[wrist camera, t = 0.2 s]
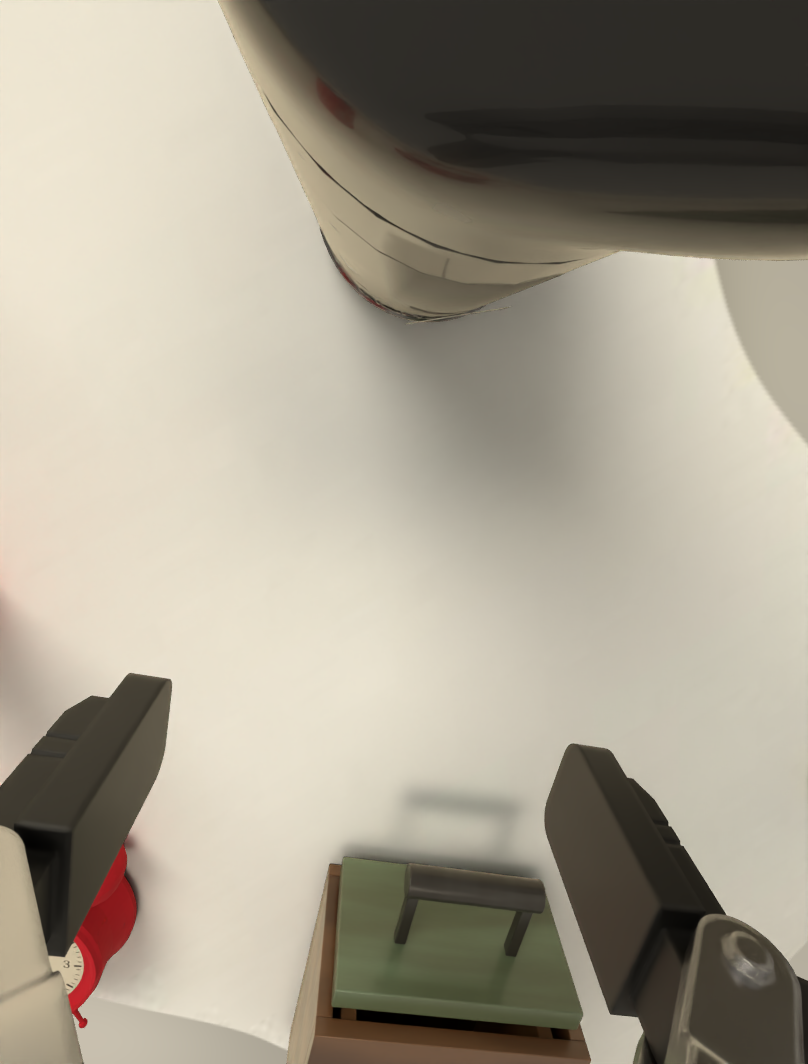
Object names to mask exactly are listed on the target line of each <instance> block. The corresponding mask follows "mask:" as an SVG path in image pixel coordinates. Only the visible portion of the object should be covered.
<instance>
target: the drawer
mask: <svg viewBox="0 0 808 1064" xmlns="http://www.w3.org/2000/svg"><path fill="white" fill-rule="evenodd" d="M331 1005H332V1007H333V1017H332V1018H335V1019H346V1020H357V1021H367V1022H378V1023H389V1024H400V1025H410V1026H421V1027H432V1028H443V1029H453V1030H464V1031H475V1032H486V1033H497V1034H507V1035H518V1036H529V1037H540V1038H550V1039H553V1037H552V1033H551V1029H550V1028H560V1029H570V1030H576V1029H577V1028H578V1026H579V1023H580V1021H581V1019H582V1017H583V1011H582V1008H581V1005H580V1002H579V999H578V995H577V992H576V989H575V986H574V983H573V979H572V976H571V973H570V970H569V967H568V963H567V960H566V957H565V954H564V951H563V947H562V944H561V941H560V938H559V935H558V931H557V928H556V925H555V922H554V919H553V916H552V912H551V909H550V906H549V903H548V900H547V896H546V893H545V888H544V885H543V882H542V881H541V880H539V879H532V878H524V877H516V876H508V875H500V874H493V873H485V872H477V871H469V870H461V869H453V868H445V867H437V866H429V865H421V864H414V863H408V865H406V864H398V863H390V862H382V861H374V860H366V859H358V858H350V857H344V858H343V861H342V865H341V870H340V880H339V895H338V910H337V925H336V940H335V955H334V970H333V985H332V1000H331Z"/></svg>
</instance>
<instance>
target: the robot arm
mask: <svg viewBox="0 0 808 1064" xmlns="http://www.w3.org/2000/svg"><path fill="white" fill-rule="evenodd" d="M218 3H219V5H220V7H221V9H222V11H223V14H224V16H225V18H226V20H227V23H228V25H229V27H230V29H231V31H232V34H233V37H234V39H235V41H236V43H237V46H238V48H239V50H240V52H241V54H242V57H243V59H244V61H245V63H246V65H247V68H248V70H249V72H250V74H251V76H252V79H253V81H254V83H255V85H256V87H257V90H258V92H259V94H260V96H261V98H262V101H263V103H264V105H265V107H266V109H267V112H268V114H269V116H270V118H271V120H272V122H273V124H274V126H275V128H276V130H277V132H278V134H279V137H280V139H281V141H282V143H283V145H284V148H285V150H286V152H287V154H288V157H289V159H290V161H291V163H292V165H293V168H294V170H295V172H296V174H297V177H298V179H299V181H300V183H301V185H302V188H303V190H304V192H305V194H306V197H307V199H308V201H309V203H310V205H311V208H312V210H313V212H314V214H315V217H316V219H317V221H318V223H319V226H320V230H321V234H322V236H323V239H324V242H325V245H326V247H327V249H328V252H329V254H330V256H331V258H332V260H333V262H334V263H335V265H336V267H337V269H338V270H339V272H340V273H341V274H342V276H343V277H344V279H345V280H346V281H347V282H348V283H349V285H350V286H351V287H352V288H353V289H354V290H355V291H356V292H357V293H358V294H359V295H360V296H362V297H363V298H364V299H365V300H366V301H368V302H369V303H371V304H372V305H374V306H375V307H377V308H379V309H380V310H382V311H384V312H386V313H388V314H391V315H393V316H396V317H399V318H403V319H406V320H411V321H418V322H440V321H447V320H452V319H456V318H459V317H462V316H465V315H468V314H474V313H480V312H487V311H493V310H499V309H505V308H508V307H505V308H499V309H492V310H486V311H480V312H474V311H477V310H479V309H481V308H482V307H484V306H486V305H487V304H490V303H492V302H495V301H497V300H500V299H502V298H505V297H507V296H510V295H512V294H515V293H517V292H520V291H522V290H525V289H527V288H530V287H533V286H535V285H538V284H540V283H543V282H545V281H548V280H550V279H553V278H555V277H558V276H560V275H563V274H565V273H567V272H569V271H572V270H574V269H577V268H579V267H582V266H584V265H587V264H589V263H592V262H594V261H597V260H599V259H602V258H604V257H607V256H609V255H612V254H614V253H617V252H619V251H630V252H641V253H651V254H660V255H670V256H683V257H697V258H710V259H729V260H730V259H731V260H768V261H769V260H771V261H784V260H808V0H218ZM511 307H512V306H511ZM472 312H474V313H472ZM418 322H412V323H418ZM412 323H406V324H412ZM406 324H405V325H406ZM171 692H172V682H171V680H170V679H166V678H159V677H153V676H147V675H140V674H134V673H129V674H128V675H127V676H126V677H125V678H124V680H123V681H122V682H121V684H120V685H119V686H118V687H117V689H116V690H115V691H114V693H113V694H112V695H111V697H110V698H104V697H98V696H90V697H88V698H87V699H85V700H83V701H82V702H80V703H78V704H76V705H75V706H73V707H71V708H70V709H68V710H66V711H65V712H64V713H63V714H62V715H61V716H60V717H59V719H58V720H57V721H56V722H55V723H54V724H53V726H52V727H51V728H50V729H49V730H48V731H47V734H46V736H43V737H42V738H41V740H40V741H39V742H38V743H37V744H36V745H35V747H34V748H33V749H32V752H31V754H28V755H27V756H26V757H25V758H24V759H23V761H22V762H21V763H20V764H19V765H18V766H17V768H16V769H15V770H14V771H13V772H12V773H11V775H10V776H9V777H8V778H7V779H6V780H5V781H4V783H3V784H2V785H1V786H0V1064H84V1063H83V1059H82V1054H81V1050H80V1045H79V1041H78V1037H77V1032H76V1028H75V1024H74V1019H73V1015H72V1011H71V1007H70V1002H69V998H68V994H67V990H66V986H65V983H64V980H63V977H62V975H61V973H60V971H59V970H57V971H55V972H53V971H52V968H51V965H50V961H49V957H48V956H56V957H65V956H66V954H67V952H68V951H69V949H70V947H71V945H72V943H73V941H74V939H75V937H76V935H77V933H78V931H79V929H80V927H81V925H82V923H83V921H84V919H85V917H86V915H87V913H88V911H89V909H90V907H91V905H92V903H93V902H94V900H95V898H96V896H97V894H98V892H99V890H100V888H101V886H102V884H103V882H104V880H105V878H106V876H107V874H108V872H109V870H110V868H111V866H112V864H113V862H114V860H115V858H116V856H117V855H118V853H119V851H120V849H121V847H122V845H123V843H124V841H125V839H126V837H127V835H128V833H129V831H130V829H131V827H132V825H133V823H134V821H135V819H136V817H137V815H138V813H139V811H140V809H141V807H142V806H143V804H144V802H145V800H146V798H147V796H148V794H149V792H150V790H151V788H152V786H153V784H154V782H155V780H156V777H157V775H158V772H159V770H160V767H161V763H162V760H163V756H164V751H165V746H166V737H167V728H168V719H169V710H170V701H171ZM545 830H546V835H547V838H548V841H549V844H550V846H551V849H552V852H553V855H554V858H555V861H556V863H557V866H558V869H559V872H560V875H561V877H562V880H563V883H564V886H565V889H566V891H567V894H568V897H569V900H570V903H571V906H572V908H573V911H574V914H575V917H576V920H577V922H578V925H579V928H580V931H581V934H582V936H583V939H584V942H585V945H586V948H587V951H588V953H589V956H590V959H591V962H592V965H593V967H594V970H595V973H596V976H597V979H598V981H599V984H600V987H601V990H602V993H603V996H604V998H605V1001H606V1004H607V1007H608V1010H609V1012H610V1014H611V1015H622V1016H632V1017H638V1018H639V1020H640V1023H641V1026H642V1028H643V1031H644V1032H643V1034H642V1036H641V1038H640V1040H639V1042H638V1045H637V1048H636V1052H635V1057H634V1061H633V1064H808V981H807V980H804V979H802V978H800V977H798V976H796V974H795V972H794V970H793V969H792V967H791V966H790V964H789V962H788V961H787V960H786V958H785V957H784V956H783V955H782V953H781V952H780V951H779V950H778V949H777V948H776V947H775V946H774V945H773V944H772V943H771V942H770V941H769V940H768V939H767V938H766V937H764V936H763V935H762V934H761V933H759V932H758V931H757V930H755V929H754V928H752V927H751V926H749V925H747V924H746V923H744V922H742V921H740V920H738V919H735V918H733V917H730V916H727V915H726V914H725V912H724V910H723V909H722V907H721V906H720V904H719V902H718V901H717V899H716V898H715V896H714V894H713V893H712V891H711V890H710V888H709V886H708V885H707V883H706V882H705V880H704V878H703V877H702V875H701V874H700V872H699V870H698V869H697V867H696V866H695V864H694V862H693V861H692V859H691V858H690V856H689V854H688V853H687V851H686V850H685V848H684V846H681V845H680V840H679V838H678V837H677V835H676V833H675V832H674V830H673V829H672V827H670V826H668V821H667V819H666V817H665V816H664V814H663V813H662V811H661V809H660V808H659V806H658V805H657V803H656V801H655V800H654V799H653V798H652V797H651V796H650V795H649V794H648V793H647V792H646V791H645V790H644V789H643V788H642V787H641V786H640V785H639V784H638V783H637V782H636V781H635V780H634V779H632V778H627V777H626V775H625V773H624V772H623V770H622V768H621V767H620V765H619V763H618V762H617V760H616V758H615V757H614V755H613V753H612V752H611V751H610V750H608V749H605V748H599V747H592V746H586V745H580V744H570V745H569V746H568V747H567V749H566V750H565V753H564V756H563V758H562V761H561V764H560V766H559V769H558V772H557V775H556V777H555V780H554V783H553V786H552V788H551V791H550V794H549V797H548V799H547V802H546V807H545Z"/></svg>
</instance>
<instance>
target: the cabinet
mask: <svg viewBox="0 0 808 1064" xmlns="http://www.w3.org/2000/svg"><path fill="white" fill-rule="evenodd" d="M340 870H341V865H335V864H330V865H329V869H328V873H327V877H326V882H325V886H324V890H323V894H322V899H321V903H320V907H319V912H318V916H317V920H316V924H315V929H314V933H313V937H312V942H311V946H310V950H309V955H308V959H307V963H306V967H305V972H304V976H303V980H302V985H301V989H300V993H299V997H298V1002H297V1006H296V1010H295V1015H294V1019H293V1023H292V1027H291V1032H290V1038H289V1047H288V1055H287V1063H286V1064H590V1062H591V1058H590V1055H589V1051H588V1048H587V1045H586V1042H585V1038H584V1035H583V1032H582V1029H581V1025H580V1023H579V1026H578V1028H577V1029H576V1030H570V1029H560V1028H550V1029H551V1033H552V1037H553V1039H550V1038H540V1037H529V1036H518V1035H507V1034H497V1033H486V1032H475V1031H464V1030H453V1029H443V1028H432V1027H421V1026H410V1025H400V1024H389V1023H378V1022H367V1021H357V1020H346V1019H335V1018H332V1017H333V1007H332V1005H331V1000H332V985H333V970H334V955H335V940H336V925H337V910H338V895H339V880H340Z"/></svg>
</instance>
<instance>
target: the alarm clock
mask: <svg viewBox="0 0 808 1064" xmlns="http://www.w3.org/2000/svg"><path fill="white" fill-rule="evenodd" d="M126 865H127V854H126V850H125V847H124V845H122V847H121V849H120V851H119V853H118V855H117V856H116V858H115V860H114V862H113V864H112V866H111V868H110V870H109V872H108V874H107V876H106V878H105V880H104V882H103V884H102V886H101V888H100V890H99V892H98V894H97V896H96V898H95V900H94V902H93V903H92V905H91V907H90V909H89V911H88V913H87V915H86V917H85V919H84V921H83V923H82V925H81V927H80V929H79V931H78V933H77V935H76V937H75V939H74V941H73V943H72V945H71V947H70V949H69V951H68V952H67V954H66V956H65V957H56V956H48V957H49V961H50V965H51V968H52V971H53V972H55V971H57V970H59V971H60V973H61V975H62V977H63V980H64V983H65V986H66V990H67V994H68V998H69V1002H70V1007H71V1011H72V1014H74V1015H75V1017H76V1018H77V1019H78V1021H79V1027H80V1028H84V1027H85V1026H86V1025H87V1019H86V1018H84V1019H83V1018H82V1016H81V1015H80V1013H79V1011H78V1008H79V1007H80V1006H81V1005H82V1004H83V1003H84V1002H85V1001H86V1000H87V999H88V997H89V996H90V995H91V994H92V992H93V991H94V990H95V988H96V986H97V985H98V983H99V980H100V978H101V975H102V972H103V970H104V968H105V965H106V963H107V961H108V960H109V959H110V958H111V957H112V956H113V955H114V954H115V953H116V952H118V951H119V950H120V949H121V948H122V946H123V945H124V944H125V942H126V941H127V939H128V938H129V936H130V934H131V931H132V929H133V926H134V923H135V920H136V914H137V907H136V900H135V896H134V893H133V890H132V888H131V886H130V884H129V883H128V881H127V879H126V878H125V876H124V873H125V870H126Z"/></svg>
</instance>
